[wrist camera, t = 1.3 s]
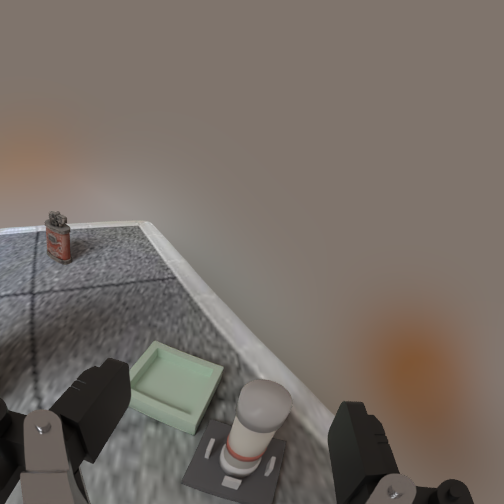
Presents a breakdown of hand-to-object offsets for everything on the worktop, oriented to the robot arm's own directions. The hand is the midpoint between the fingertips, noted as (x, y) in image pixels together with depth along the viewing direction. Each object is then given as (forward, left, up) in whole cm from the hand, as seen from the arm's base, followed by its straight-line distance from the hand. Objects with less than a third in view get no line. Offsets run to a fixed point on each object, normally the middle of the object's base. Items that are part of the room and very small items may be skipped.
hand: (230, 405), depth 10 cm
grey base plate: (+2, +8, -21) cm, 23 cm away
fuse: (+2, +8, -20) cm, 22 cm away
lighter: (-46, +32, -22) cm, 60 cm away
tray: (-9, +15, -21) cm, 28 cm away
